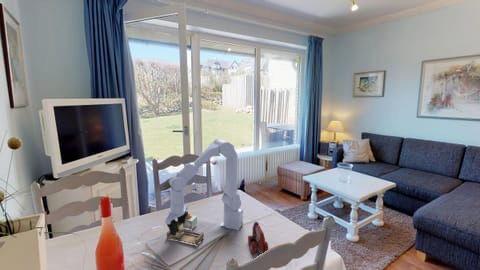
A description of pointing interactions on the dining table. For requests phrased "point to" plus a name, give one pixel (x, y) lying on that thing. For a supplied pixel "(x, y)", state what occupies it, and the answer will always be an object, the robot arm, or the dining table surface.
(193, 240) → the rail deck
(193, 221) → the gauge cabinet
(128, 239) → the dining table surface
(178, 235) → the block
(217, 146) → the robot arm
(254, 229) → the toy fire truck
